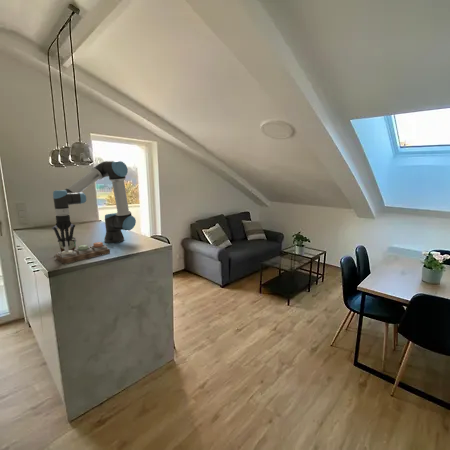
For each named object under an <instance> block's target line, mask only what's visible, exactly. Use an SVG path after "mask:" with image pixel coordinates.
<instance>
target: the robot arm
mask: <svg viewBox="0 0 450 450" xmlns="http://www.w3.org/2000/svg"><path fill="white" fill-rule="evenodd" d="M126 176H128V166H127V165H126V163H125V162H124V161H121V160H105V161H102V162H100V163H99V164H97V165H95V166H94V167H93V168H91V170H90V172H88V173H86V174H85V175H83V176H82V177H80V178H79V179H78V180H77V181H74V182H73V183H72V184H71V185H69V186H68V187H67V188H65V189H61V190H60V189H58V190H56V189H55V190H53V192H52V196H53V197H52V199H53V205H54V215H55V221H56V223H55V225H54V226H52V227H51V229H52V230H53V231H54V233H55V236H56V239H57V242H58V241H60V242H62V246H63V247H64V249H65V251H66V252H68V251H69V249H68V246H70V243H69V241H70V240H72V238H73V237H74V230H75V227H76V224H73V223H72V222H71V217H70V216H71V215H70V208H69V206H70V205H81V204H85V203H86V202H87V196H86V194H85V193H84V192H83V191H85V190H86V189H87V188H89V187H90V186H91V185H93V184H95V183H96V182H97V181H99V180H102V179H104V178H107V177H108V178H109V181H110V182H111V184H112V189H113V194H114V200H115V207H116V212H114V213H113V212H112V213H106V214H105V215H104V224H105V226H104V227H105V235H104V238H103V239H104V243H107V244H115V243H121V242H123V240H124V241H125V237H124V234H123V232H122V230H123V231H131V230H133V229H134V228H135V226H136V223H137V221H136V217H135V216H133V215H132V212H131V211H130V210H129V209H130V208H129V203H128V197H127V190H126V186H125V185H126V184H125V180H126ZM58 229H59V230H58ZM69 229H70V230H69ZM59 232H60V233H59ZM65 238H66V241H65Z"/></svg>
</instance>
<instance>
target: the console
mask: <svg viewBox="0 0 450 450" xmlns="http://www.w3.org/2000/svg"><path fill="white" fill-rule="evenodd" d="M110 250H111V249H110V248H109V247H108V246H107V245H105V244H103V247H98V248H94V246H93V245H90V246H88V250H84V251H79V250H78V248H76V249H74V251H73V250H72V253H69V254H64V255H63V254H62V252H61V251H58V252H57V254H55V259H56V260H57V261H59V262H60V263H62V264H64V265H65V264H68V263H73V262H77V261H83V260H87V259H91V258H94V257H99V256H103V255H108V254H109V255H110V253H111V251H110Z"/></svg>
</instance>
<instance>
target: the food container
mask: <svg viewBox="0 0 450 450" xmlns="http://www.w3.org/2000/svg"><path fill="white" fill-rule="evenodd" d="M65 241H66V237H65ZM76 242H77V239H76V237H75V236H73V238H72V240H70V241H69V243H70V246H68V249H69V250H73V251H74V249H77V248H76ZM57 243H58V245H59V250H60V252H62V251H65V249H64V247H63V246H62V242H60V241H58V240H57Z"/></svg>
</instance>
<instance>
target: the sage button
mask: <svg viewBox="0 0 450 450" xmlns="http://www.w3.org/2000/svg"><path fill="white" fill-rule="evenodd" d="M88 247H89V245H88V244H82V245H78V246H77V249H78V250H79V251H84V250H88Z"/></svg>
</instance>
